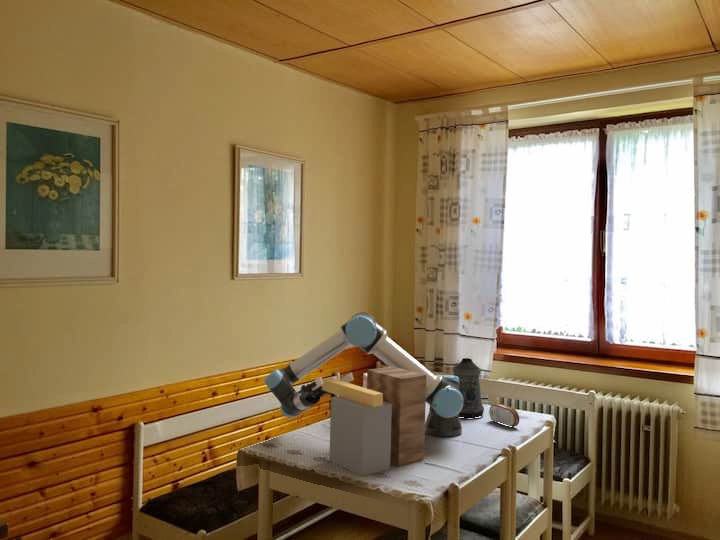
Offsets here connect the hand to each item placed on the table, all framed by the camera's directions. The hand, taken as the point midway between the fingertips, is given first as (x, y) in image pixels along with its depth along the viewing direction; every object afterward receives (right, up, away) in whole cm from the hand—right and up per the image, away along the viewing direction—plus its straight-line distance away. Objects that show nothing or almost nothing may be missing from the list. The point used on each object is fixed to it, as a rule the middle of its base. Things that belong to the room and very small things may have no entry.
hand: (337, 378), depth 221 cm
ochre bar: (+5, -6, -6) cm, 10 cm away
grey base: (+8, -28, -10) cm, 30 cm away
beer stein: (+55, -27, +61) cm, 86 cm away
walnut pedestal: (+20, -28, 0) cm, 34 cm away
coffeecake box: (+14, -26, +44) cm, 53 cm away
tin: (+69, -28, +44) cm, 87 cm away
